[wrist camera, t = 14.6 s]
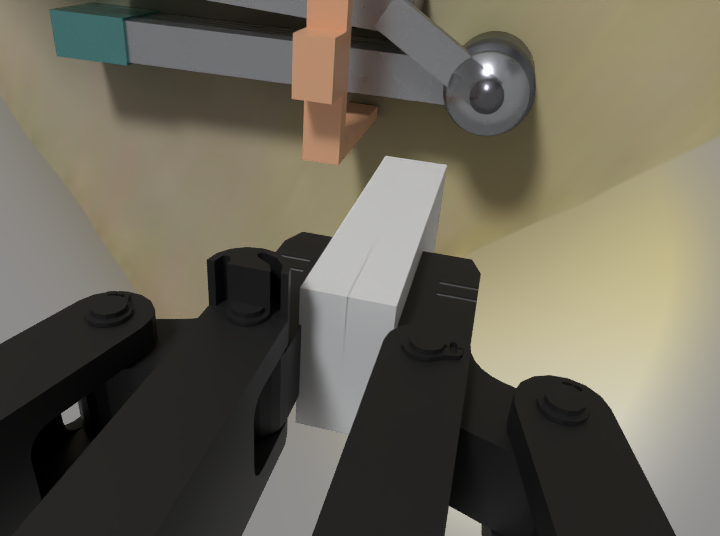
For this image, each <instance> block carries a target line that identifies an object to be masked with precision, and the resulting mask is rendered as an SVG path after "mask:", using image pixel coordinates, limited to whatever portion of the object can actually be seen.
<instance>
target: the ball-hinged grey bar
mask: <svg viewBox="0 0 720 536" xmlns="http://www.w3.org/2000/svg"><path fill="white" fill-rule="evenodd" d="M50 15H51V22H52V28H53V34H54V41H55V47H56V53H57V56H60V57H68V58H75V59H82V60H90V61H97V62H105V63H112V64H119V65H130V64H133V63H136V64H143V65H151V66H158V67H166V68H173V69H180V70H188V71H195V72H203V73H210V74H218V75H225V76H233V77H240V78H247V79H255V80H262V81H270V82H277V83H285V84H292V55H293V33H294V32H296V31H299V30H298V29H290V28H281V27H273V26H264V25H256V24H247V23H239V22H230V21H222V20H214V19H205V18H197V17H188V16H180V15H171V14H163V13H159V11H158V10H149V9H141V8H132V7H124V6H115V5H107V4H98V3H88V4H81V5H75V6H69V7H62V8H56V9H50ZM463 47H464V48H466V49H467V50H468V51H469V52H470V53H472V54H475V53H477V52H481V51H486V50H494V51H500V52H504V53H506V54H508V55H510V56H512V57H513V58H515V59H516V60H517V61H518V62H519V63H520V64H521V65H522V67H523V68H524V70H525V72H526V74H527V77H528V80H529V88H530V94H529V102H528V105H527V108H526V110H525V112H524V114H523V116H522V117H521V119H520V120H519V121H518V122H517V123H516V124H515V125H514V126H513V127H511V128H510V129H508V130H506V131H505V132H507V131H509V130H511V129H513V128H514V127H515V126H517V125H518V124H519V123H520V122H521V121H522V120H523V119H524V118H525V117H526V115H527V114H528V112H529V110H530V109H531V106H532V104H533V100H534V96H535V67H534V61H533V57H532V55H531V52H530V51H529V49H528V47H527V46H526V45H525V44H524V43H523V42H522V41H521V40H520V39H519V38H517V37H516V36H514V35H512V34H509V33H506V32H501V31H491V32H486V33H482V34H480V35H477V36H475V37H474V38H472V39H471V40H469V41H468V42H467V43H466V44H465V45H464V46H463ZM446 91H447V87H446V86H445V85H444V84H443V83H442V82H440V81H439V80H438V79H437V78H435V77H434V76H433V75H432V74H431V73H429V72H428V71H427V70H426V69H424V68H423V67H422V66H421V65H420V64H418V63H417V62H416V61H415V60H414V59H412V58H411V57H410V56H409V55H407V54H406V53H405V52H404V51H403V50H401V49H400V48H399V47H398V46H396V45H395V44H394V43H393V42H392V41H390V40H382V39H374V38H366V37H357V36H351V45H350V60H349V76H348V92H352V93H359V94H367V95H374V96H381V97H389V98H396V99H404V100H411V101H419V102H426V103H434V104H441V105H445V107H446V110H447V112H448V114H449V115H450V117H451V118H452V116H451V114H450V112H449V109H448V106H447V101H446ZM452 120H453V121H454V122H455V120H454V119H453V118H452ZM455 123H456V122H455ZM456 124H457V123H456ZM457 125H458V124H457ZM458 126H459V125H458ZM459 127H460V126H459ZM461 128H462V127H461ZM462 129H463V128H462ZM465 131H466V130H465ZM467 132H468V131H467ZM505 132H502V133H505ZM469 133H470V132H469ZM502 133H500V134H502ZM472 134H473V133H472ZM475 135H476V134H475ZM496 135H499V134H496ZM480 136H482V135H480ZM490 136H494V135H490Z"/></svg>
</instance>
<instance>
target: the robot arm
mask: <svg viewBox="0 0 720 536" xmlns="http://www.w3.org/2000/svg"><path fill="white" fill-rule="evenodd" d="M446 169H447V165H444V164H437V163H431V162H424V161H417V160H411V159H404V158H397V157H391V156H385V157H384V159H383V161H382V162H381V164H380V165H379V167H378V168H377V170H376V171H375V173H374V174H373V176H372V178H371V179H370V181H369V182H368V184H367V185H366V187H365V188H364V190H363V191H362V193H361V194H360V196H359V198H358V199H357V201H356V202H355V204H354V205H353V207H352V208H351V210H350V211H349V213H348V215H347V216H346V218H345V219H344V221H343V222H342V224H341V225H340V227H339V228H338V230H337V232H336V233H335V235H334V236H333V237H329V236H324V235H318V234H312V233H306V232H302V233H300V234H297V235H295V236H293V237H291V238H289V239H287V240H285V241H284V243H283V244H282V245H281V246H280V248H279V249H278V250H277V251H276V252H273V251H270V250H266V249H263V248H251V247H244V248H234V249H229V250H225V251H222V252H219V253H216V254H215V255H213V256H212V257H210V258H209V259H207V272H208V292H209V306H208V307H207V308H206V309H205V310H204V312H203V313H202V314H201V315H200V316H199V317H198V318H194V319H156V317H155V309H154V307H153V304H152V302H151V301H150V300H149V299H147V298H145V297H144V296H142V295H140V294H135V293H131V292H124V291H119V292H117V291H109V292H106V293H100V294H95V295H92V296H89V297H87V298H84V299H82V300H79V301H78V302H76V303H74V304H72V305H70V306H68V307H67V308H65V309H63V310H61V311H59V312H58V313H56V314H54V315H52V316H50V317H49V318H47V319H45V320H43V321H41V322H39V323H37V324H36V325H34V326H32V327H30V328H28V329H27V330H25V331H23V332H21V333H19V334H17V335H16V336H14V337H12V338H10V339H8V340H7V341H5V342H3V343H1V344H0V536H242V534H243V532H244V529H245V528H246V525H247V523H248V521H249V519H250V517H251V515H252V513H253V511H254V509H255V506H256V504H257V502H258V500H259V498H260V496H261V494H262V491H263V490H264V487H265V485H266V483H267V481H268V479H269V477H270V475H271V473H272V470H273V469H274V466H275V464H276V462H277V460H278V458H279V456H280V454H281V452H282V450H283V447H284V445H285V442H286V437H287V418H288V416H289V414H290V412H291V410H292V408H293V406H294V404H295V402H296V423H301V424H305V425H309V426H314V427H318V428H323V429H327V430H331V431H336V432H340V433H344V434H348V435H349V436H348V439H347V441H346V444H345V447H344V449H343V453H342V455H341V458H340V460H339V463H338V466H337V468H336V471H335V474H334V477H333V479H332V482H331V485H330V488H329V490H328V493H327V496H326V499H325V501H324V504H323V507H322V510H321V512H320V515H319V518H318V521H317V524H316V526H315V529H314V531H313V534H312V536H444V535H445V528H446V521H447V514H448V507H449V506H451V507H452V508H454V509H456V510H458V511H460V512H461V513H463V514H465V515H467V516H469V517H470V518H472V519H474V520H476V521H478V522H479V523H481V524H482V536H676V535H675V533H674V531H673V529H672V527H671V525H670V523H669V521H668V519H667V517H666V515H665V513H664V511H663V509H662V507H661V506H660V504H659V502H658V500H657V498H656V496H655V494H654V492H653V490H652V488H651V486H650V484H649V482H648V480H647V478H646V476H645V474H644V473H643V470H642V469H641V467H640V465H639V463H638V461H637V459H636V457H635V455H634V453H633V451H632V449H631V447H630V445H629V443H628V441H627V439H626V438H625V435H624V434H623V432H622V430H621V428H620V426H619V424H618V422H617V420H616V418H615V416H614V414H613V412H612V410H611V409H610V407H609V406H608V405H607V403H606V402H605V401H604V400H603V398H602V397H601V396H600V395H598V394H597V393H595V392H594V391H593V390H591V389H590V388H588V387H587V386H585V385H583V384H580V383H578V382H575V381H573V380H570V379H568V378H562V377H557V376H551V375H547V376H534V377H531V378H529V379H527V380H525V381H523V382H521V383H520V384H519V386H518V387H517V388H514V387H512V386H510V385H507V384H505V383H503V382H501V381H499V380H497V379H495V378H494V377H492V376H490V375H489V374H488V373H486V372H485V371H484V370H482V369H481V368H480V366H479V365H478V364H477V363H476V362H475V360H474V358H473V356H472V354H471V346H470V344H471V337H472V330H473V323H474V317H475V310H476V303H477V296H478V288H479V282H480V275H481V274H480V272H479V270H478V269H477V267H476V265H475V264H474V262H473V261H472V260H471V259H464V258H459V257H454V256H448V255H442V254H437V253H434V249H435V242H436V235H437V229H438V222H439V215H440V209H441V202H442V195H443V189H444V182H445V175H446ZM76 402H78V404H79V409H80V415H81V416H80V417H79V418H78V419H76V420H75V421H73V422H71V423H69V424H67V425H64V423H63V420H62V416H61V413H62V412H63V411H65V410H67V409H68V408H69V407H71V406H72V405H74V404H75V403H76Z"/></svg>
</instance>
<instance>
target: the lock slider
mask: <svg viewBox="0 0 720 536" xmlns="http://www.w3.org/2000/svg"><path fill="white" fill-rule="evenodd" d="M352 14H353V0H307V25H306V28H303V29H301V30H299V31H296V32H294V33H293V55H292V99H296V100H304V123H303V155H302V160H308V161H315V162H321V163H328V164H334V165H339V164H340V163H341V161H342V160H343V159H344V158H345V156H346V155H347V154H348V153H349V152H350V150H351V149H352V148H353V147H354V146H355V144H356V143H357V142H358V141H359V140H360V138H361V137H362V136H363V135H364V133H365V132H366V131H367V130H368V129H369V127H370V126H371V125H372V124H373V123H374V121H375V120H376V119H377V114H378V106H373V105H366V104H358V103H351V102H349V103H347V92H348V76H349V60H350V45H351V29H352Z"/></svg>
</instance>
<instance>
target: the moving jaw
mask: <svg viewBox="0 0 720 536" xmlns="http://www.w3.org/2000/svg"><path fill="white" fill-rule="evenodd" d="M208 1H214V2H219V3H225V4H230V5H236V6H242V7H247V8H253V9H258V10H264V11H269V12H275V13H281V14H286V15H292V16H297V17H303V18H307V0H208ZM423 2H424V0H353V14H352V26H353V27H358V28H364V29H369V30H375V31H379V32H381V33H382V34H383V35H384V36H385V37H387V38H388V39H389V40H390V41H392V42H393V43H394V44H395V45H396V46H398V47H399V48H400V49H401V50H403V51H404V52H405V53H406V54H407V55H409V56H410V57H411V58H412V59H414V60H415V61H416V62H417V63H418V64H420V65H421V66H422V67H423V68H424V69H426V70H427V71H428V72H429V73H431V74H432V75H433V76H434V77H435V78H437V79H438V80H439V81H440V82H442V83H443V84H444V85H445V86H446V87H447V91H446V101H447V106H448V109H449V112H450V114H451V116H452V118H453V119H454V120H455V122H456V123H457V124H458V125H459V126H460V127H462V128H463V129H464V130H466V131H468V132H470V133H473V134H476V135H482V136H490V135H496V134H500V133H502V132H505V131H506V130H508V129H510V128H511V127H513V126H514V125H515V124H516V123H517V122H518V121H519V120H520V119H521V117H522V116H523V114H524V112H525V110H526V108H527V105H528V102H529V94H530V88H529V80H528V77H527V74H526V72H525V70H524V68H523V67H522V65H521V64H520V63H519V62H518V61H517V60H516V59H515V58H513V57H512V56H510V55H508V54H506V53H504V52H500V51H494V50H486V51H481V52H477V53H475V54H472V53H470V52H469V51H468V50H467V49H466V48H464V47H463V46H462V45H461V44H460V43H458V42H457V41H456V40H455V39H454V38H452V37H451V36H450V35H449V34H448V33H446V32H445V31H444V30H443V29H442V28H440V27H439V26H438V25H437V24H436V23H434V22H433V21H432V20H431V19H430V18H428V17H427V16H426V15H425V14H424V13H422V8H423Z"/></svg>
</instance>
